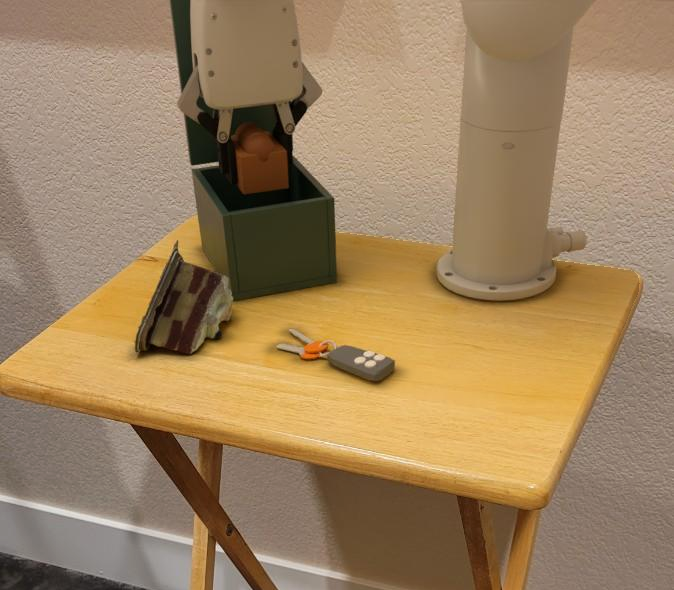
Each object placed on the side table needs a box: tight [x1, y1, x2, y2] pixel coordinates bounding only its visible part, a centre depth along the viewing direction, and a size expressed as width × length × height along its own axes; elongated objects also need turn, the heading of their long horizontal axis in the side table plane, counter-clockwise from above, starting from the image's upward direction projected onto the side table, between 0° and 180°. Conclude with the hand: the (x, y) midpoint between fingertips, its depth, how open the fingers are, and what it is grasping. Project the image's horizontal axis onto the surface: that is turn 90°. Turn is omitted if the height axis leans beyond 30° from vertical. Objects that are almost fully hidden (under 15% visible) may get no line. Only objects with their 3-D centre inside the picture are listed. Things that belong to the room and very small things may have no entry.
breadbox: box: [191, 155, 338, 302], centre depth 95 cm, size 15×12×9 cm
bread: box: [231, 122, 289, 195], centre depth 90 cm, size 5×7×5 cm, turn 19°
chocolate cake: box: [134, 239, 234, 355], centre depth 87 cm, size 10×7×12 cm
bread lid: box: [169, 0, 294, 167], centre depth 93 cm, size 16×12×6 cm
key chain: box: [276, 328, 396, 382], centre depth 82 cm, size 13×4×2 cm, turn 52°
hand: (256, 174), depth 92 cm, fingers closed on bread, 4 cm apart
